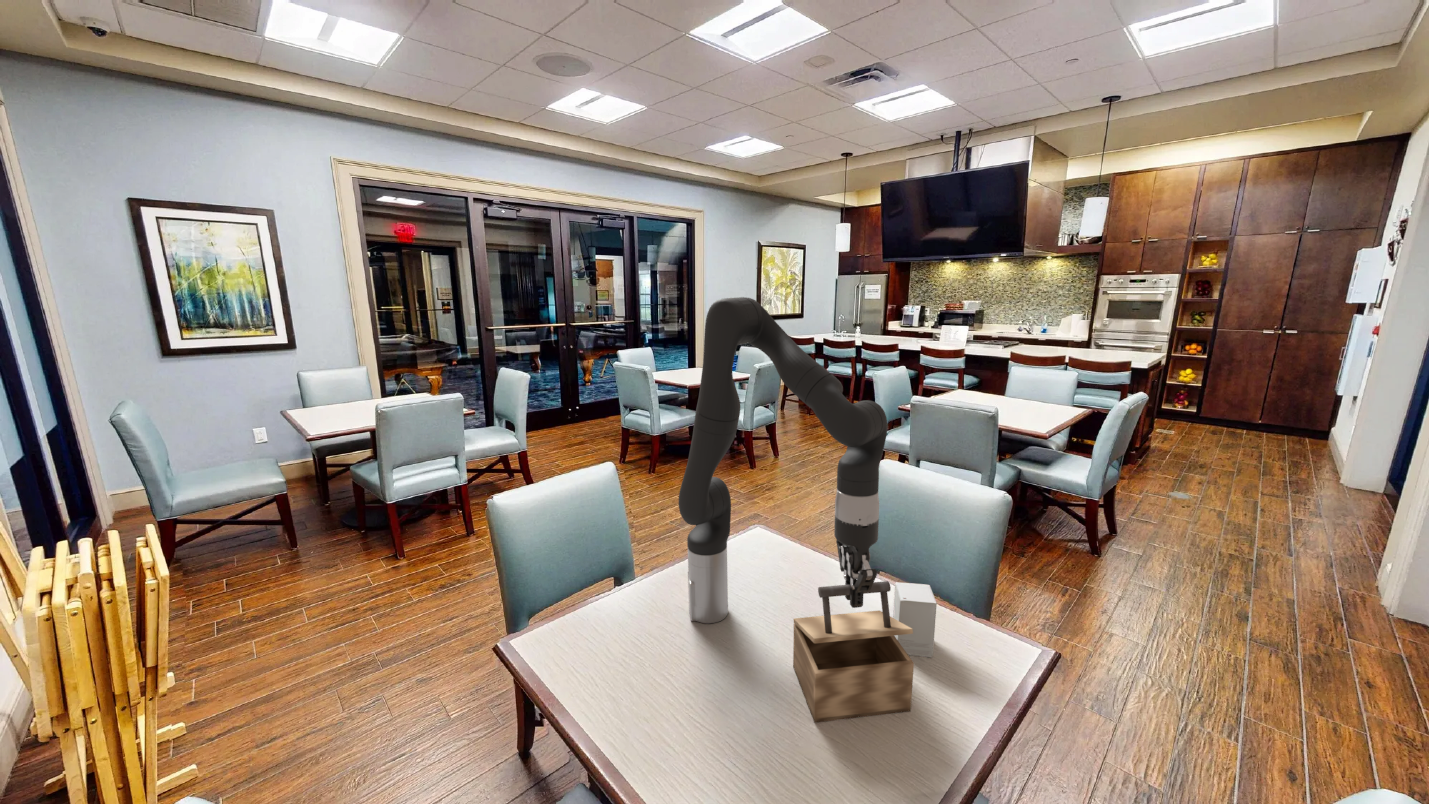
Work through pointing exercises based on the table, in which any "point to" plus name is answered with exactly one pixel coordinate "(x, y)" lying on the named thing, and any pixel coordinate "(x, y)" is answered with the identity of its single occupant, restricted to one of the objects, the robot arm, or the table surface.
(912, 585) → the supplement box
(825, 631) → the wooden box lid
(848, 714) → the wooden box
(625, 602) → the table surface
